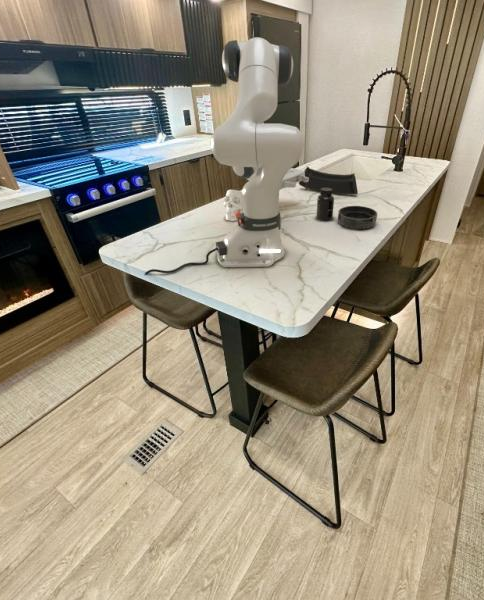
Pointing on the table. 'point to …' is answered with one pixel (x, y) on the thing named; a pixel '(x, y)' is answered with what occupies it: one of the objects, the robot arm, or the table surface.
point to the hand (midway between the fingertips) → (301, 182)
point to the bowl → (357, 217)
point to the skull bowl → (233, 204)
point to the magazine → (330, 182)
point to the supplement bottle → (325, 204)
